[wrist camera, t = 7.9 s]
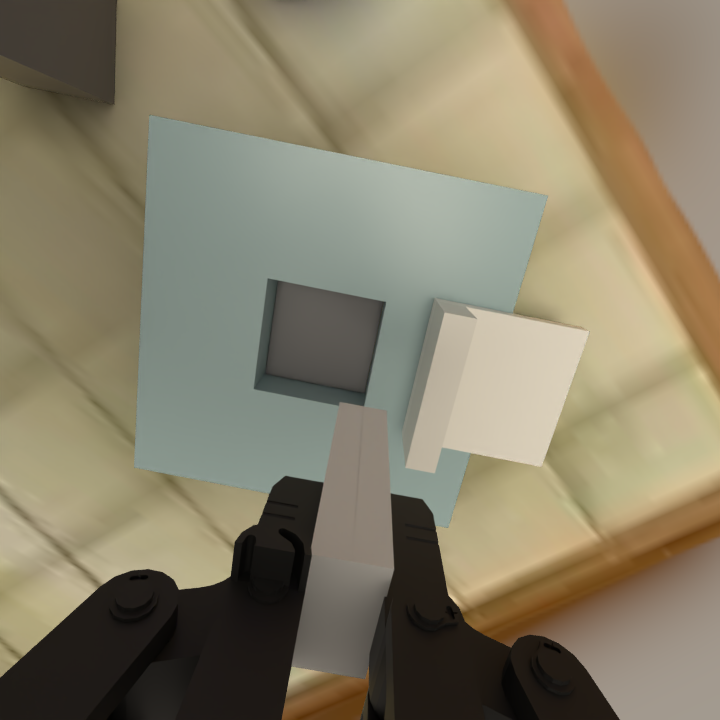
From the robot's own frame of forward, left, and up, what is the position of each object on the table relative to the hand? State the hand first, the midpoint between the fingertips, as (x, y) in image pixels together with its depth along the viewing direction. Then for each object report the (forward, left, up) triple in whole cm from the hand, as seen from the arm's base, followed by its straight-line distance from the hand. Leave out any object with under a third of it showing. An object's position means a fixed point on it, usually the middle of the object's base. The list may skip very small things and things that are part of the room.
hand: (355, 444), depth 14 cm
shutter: (0, +7, -11) cm, 13 cm away
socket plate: (0, -3, -14) cm, 14 cm away
